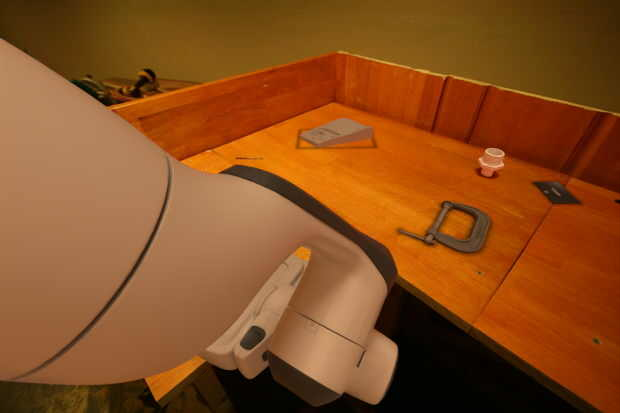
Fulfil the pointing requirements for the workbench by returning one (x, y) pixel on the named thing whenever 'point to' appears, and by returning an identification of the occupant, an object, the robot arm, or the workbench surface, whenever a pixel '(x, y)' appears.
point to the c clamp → (460, 245)
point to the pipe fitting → (491, 161)
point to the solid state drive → (556, 193)
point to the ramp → (337, 133)
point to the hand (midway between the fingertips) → (215, 278)
